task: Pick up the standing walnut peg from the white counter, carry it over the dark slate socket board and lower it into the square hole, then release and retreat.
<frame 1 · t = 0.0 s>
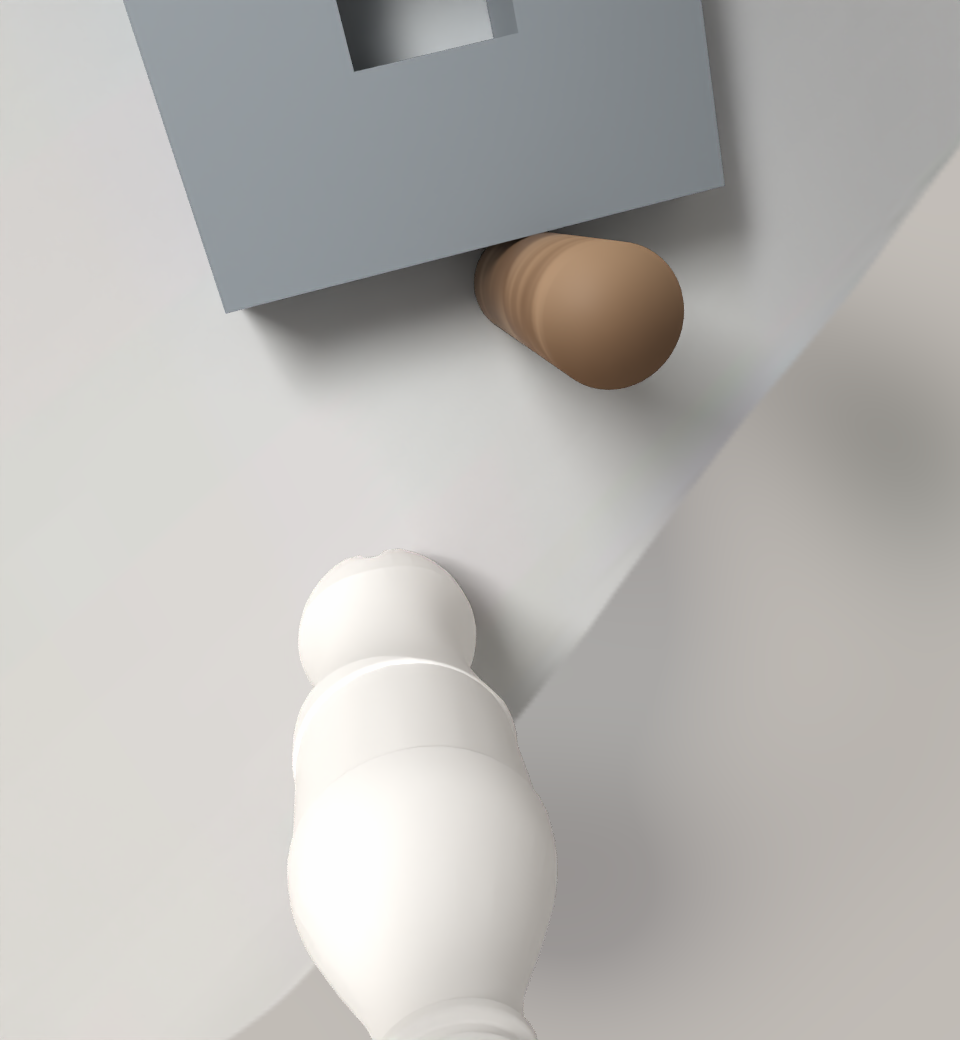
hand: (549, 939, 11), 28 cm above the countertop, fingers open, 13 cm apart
peg: (523, 282, 36), on the countertop
water bottle: (383, 607, 40), on the countertop
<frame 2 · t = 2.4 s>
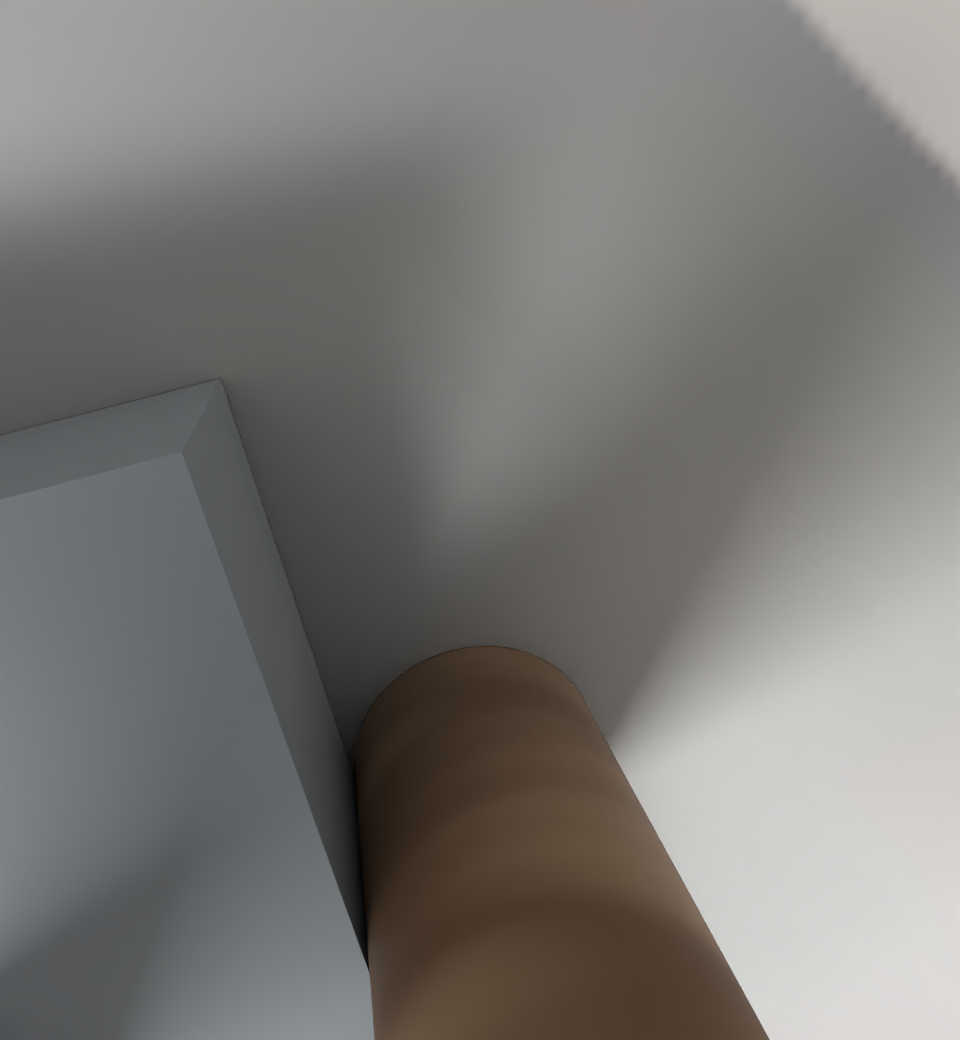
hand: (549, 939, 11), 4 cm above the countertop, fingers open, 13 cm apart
peg: (476, 755, 15), on the countertop, touching socket board
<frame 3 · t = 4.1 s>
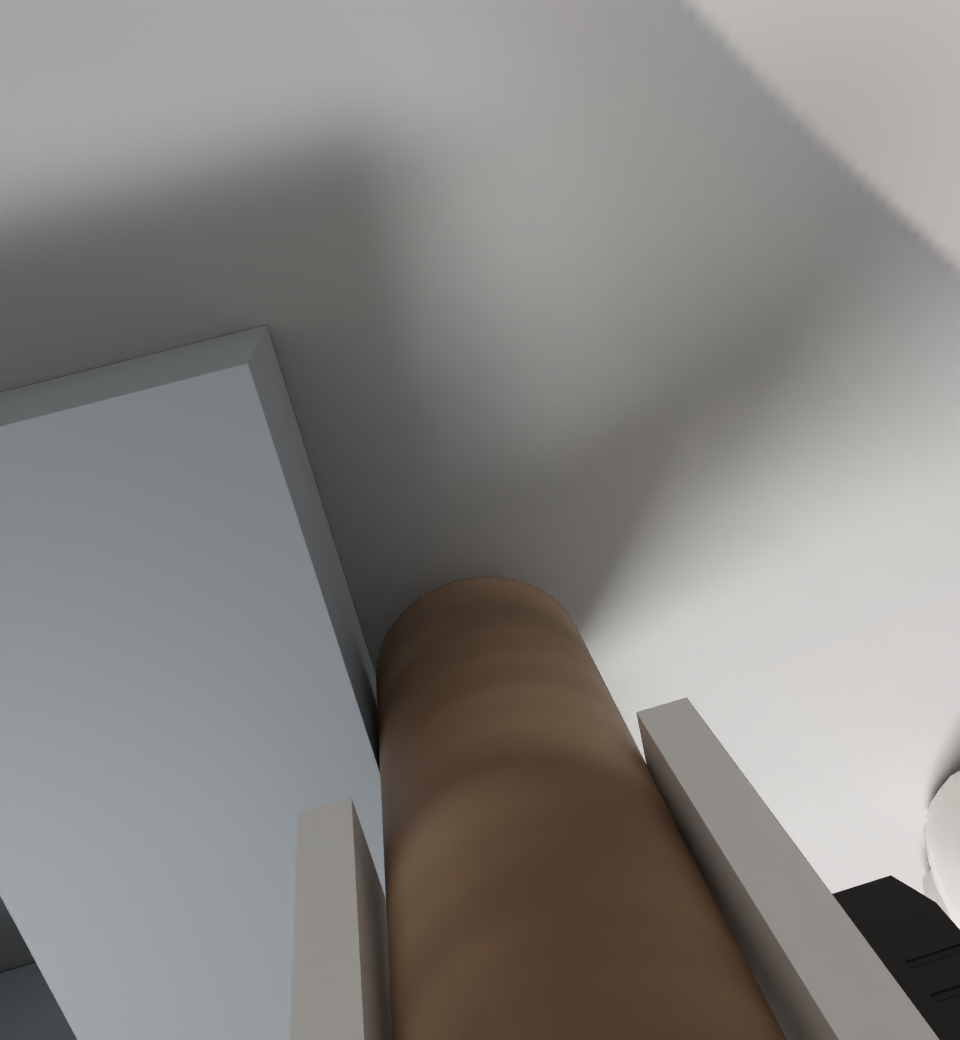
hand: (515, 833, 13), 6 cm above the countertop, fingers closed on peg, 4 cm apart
peg: (481, 673, 17), point 1 cm above the countertop, touching gripper
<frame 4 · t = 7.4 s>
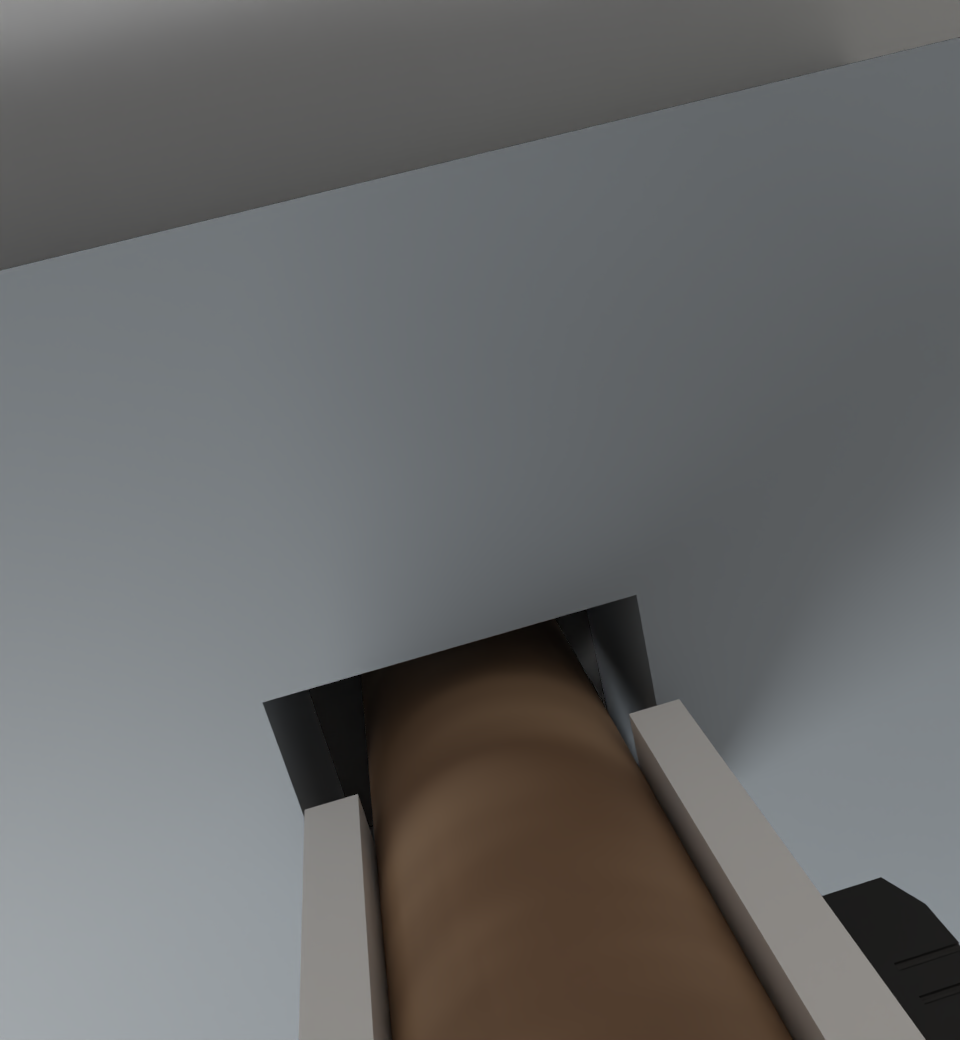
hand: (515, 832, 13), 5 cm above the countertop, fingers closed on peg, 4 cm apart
socket board: (456, 677, 18), on the countertop
peg: (465, 669, 18), on the countertop, touching gripper
when the fingers open (5 cm above the countertop, at t = 7.8 s): peg stays where it is, on the countertop.
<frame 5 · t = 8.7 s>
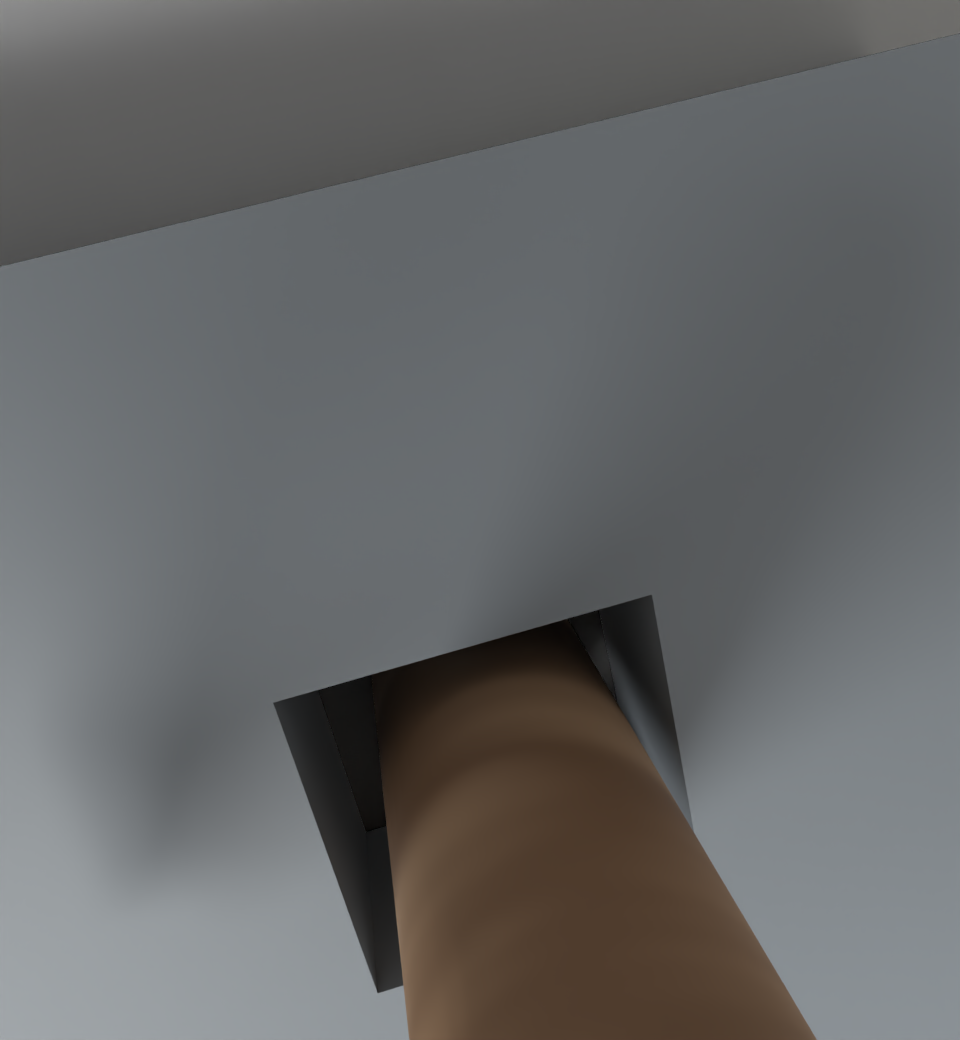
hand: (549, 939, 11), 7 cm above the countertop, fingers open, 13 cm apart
socket board: (467, 676, 18), on the countertop
peg: (476, 670, 18), on the countertop
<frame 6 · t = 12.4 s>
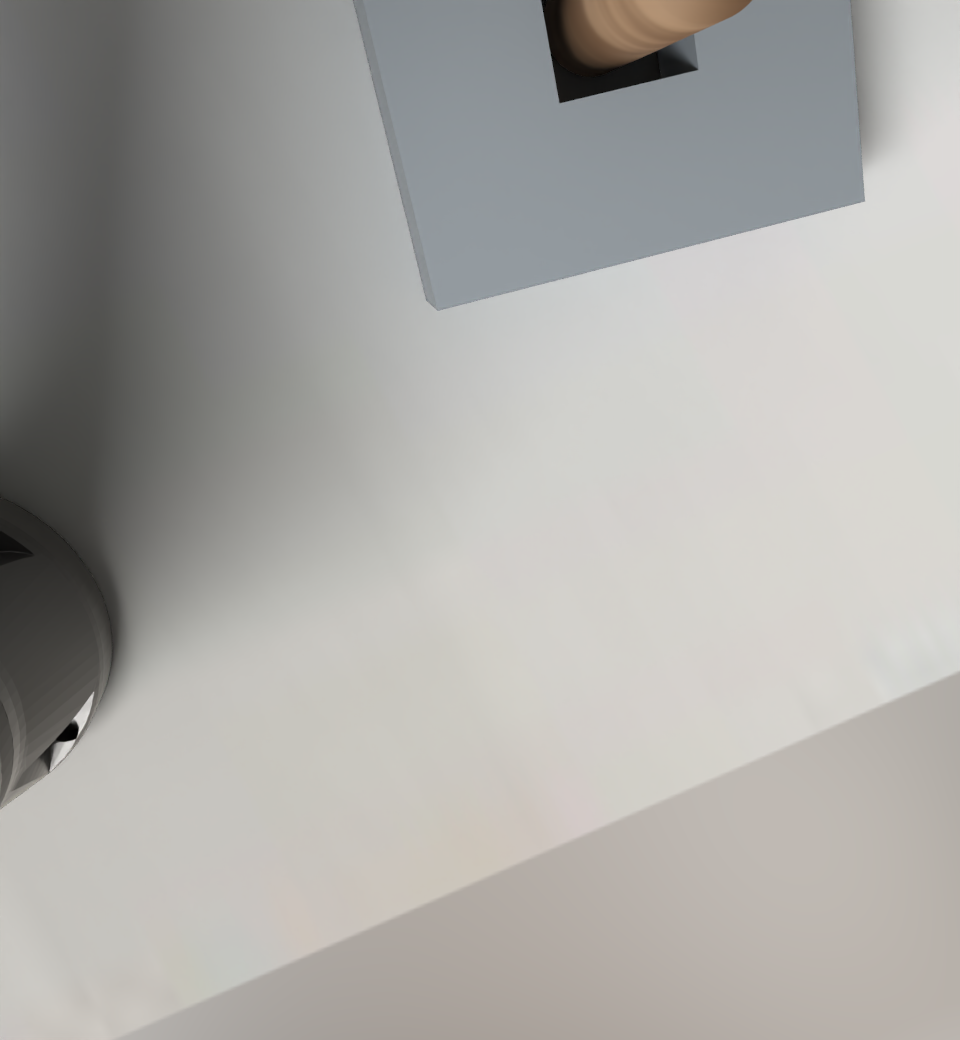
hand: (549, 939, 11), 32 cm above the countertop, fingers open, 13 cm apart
socket board: (587, 25, 37), on the countertop
peg: (591, 22, 37), on the countertop
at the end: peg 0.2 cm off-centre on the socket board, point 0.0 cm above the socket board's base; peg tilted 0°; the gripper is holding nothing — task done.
